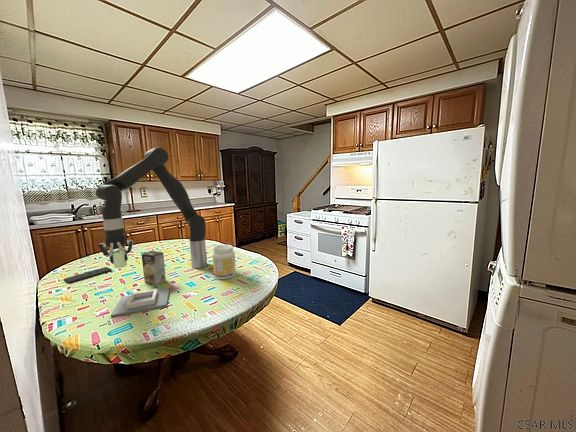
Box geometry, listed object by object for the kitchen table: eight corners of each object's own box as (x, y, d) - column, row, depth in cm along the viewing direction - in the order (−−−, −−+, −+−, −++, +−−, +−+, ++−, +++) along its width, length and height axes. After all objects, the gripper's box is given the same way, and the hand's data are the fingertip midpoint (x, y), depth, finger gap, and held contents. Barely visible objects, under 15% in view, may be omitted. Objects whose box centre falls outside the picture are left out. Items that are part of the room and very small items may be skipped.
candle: (120, 268, 109) (118, 251, 107) (111, 267, 110) (109, 251, 108) (129, 264, 114) (127, 248, 112) (120, 264, 114) (118, 248, 113)
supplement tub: (220, 270, 139) (218, 243, 137) (239, 271, 137) (237, 244, 134) (209, 279, 127) (207, 249, 125) (230, 280, 125) (228, 251, 122)
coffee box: (143, 282, 124) (140, 254, 122) (154, 277, 130) (151, 250, 128) (156, 284, 121) (153, 255, 119) (166, 279, 127) (163, 252, 125)
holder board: (169, 290, 115) (168, 284, 115) (166, 306, 101) (165, 300, 100) (121, 298, 108) (120, 292, 107) (110, 317, 93) (109, 310, 93)
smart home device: (112, 269, 141) (68, 281, 124) (112, 271, 141) (69, 284, 124) (106, 266, 145) (63, 278, 128) (106, 269, 145) (63, 281, 128)
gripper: (133, 224, 114) (138, 257, 117) (98, 227, 109) (104, 262, 112) (130, 227, 107) (135, 262, 110) (92, 231, 102) (98, 267, 105)
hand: (119, 262), depth 111 cm, fingers closed on candle, 4 cm apart
